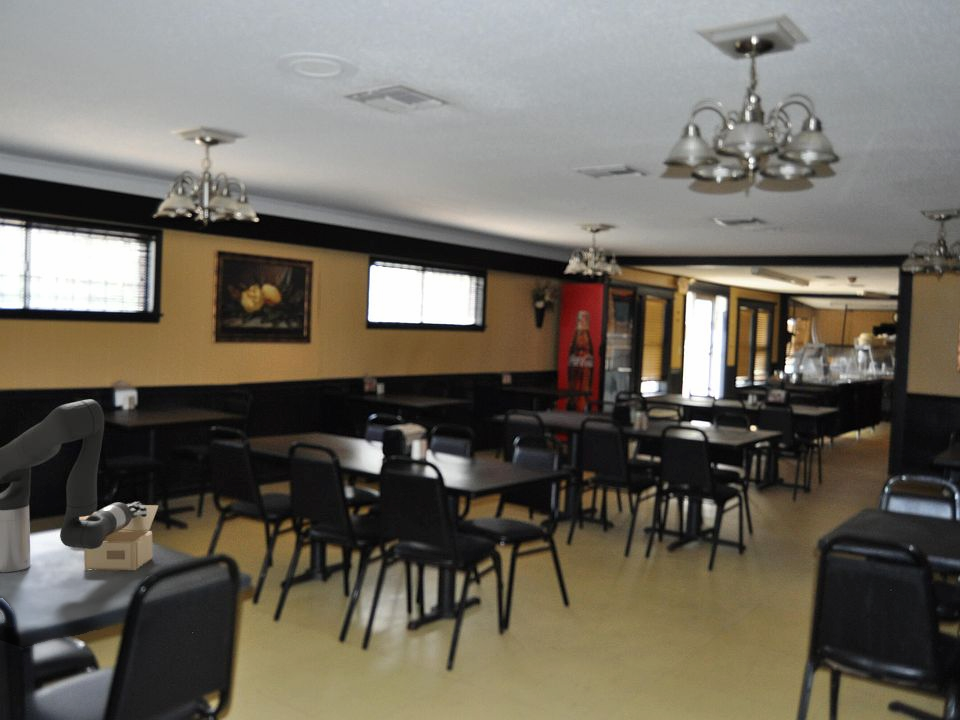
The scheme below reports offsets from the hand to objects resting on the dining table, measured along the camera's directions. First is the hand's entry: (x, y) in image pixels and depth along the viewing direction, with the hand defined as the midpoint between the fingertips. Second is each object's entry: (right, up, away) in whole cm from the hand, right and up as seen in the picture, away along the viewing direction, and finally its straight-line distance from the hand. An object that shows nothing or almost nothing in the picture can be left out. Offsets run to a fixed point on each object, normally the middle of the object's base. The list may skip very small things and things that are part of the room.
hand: (137, 505), depth 256 cm
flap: (0, -6, -6) cm, 9 cm away
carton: (0, -15, -12) cm, 19 cm away
